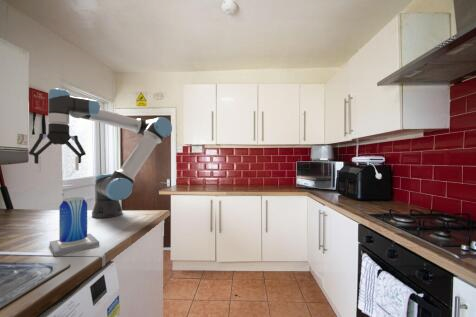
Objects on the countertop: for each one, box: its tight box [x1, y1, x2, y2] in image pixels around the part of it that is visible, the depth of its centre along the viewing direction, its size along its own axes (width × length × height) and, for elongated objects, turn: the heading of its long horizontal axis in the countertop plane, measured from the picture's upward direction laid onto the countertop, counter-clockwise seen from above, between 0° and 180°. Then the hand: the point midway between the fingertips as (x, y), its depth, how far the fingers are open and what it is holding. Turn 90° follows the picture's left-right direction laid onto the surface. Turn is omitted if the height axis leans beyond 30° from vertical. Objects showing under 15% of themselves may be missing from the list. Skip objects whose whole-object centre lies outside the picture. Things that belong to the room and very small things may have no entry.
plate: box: [49, 233, 100, 257], centre depth 85 cm, size 13×13×2 cm
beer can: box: [58, 196, 88, 245], centre depth 85 cm, size 8×8×16 cm
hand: (58, 170), depth 104 cm, fingers open, 13 cm apart
